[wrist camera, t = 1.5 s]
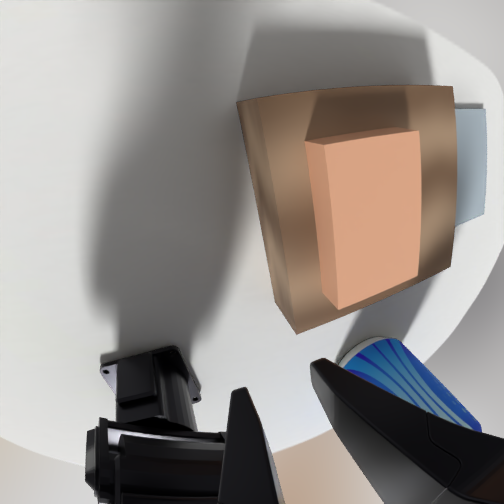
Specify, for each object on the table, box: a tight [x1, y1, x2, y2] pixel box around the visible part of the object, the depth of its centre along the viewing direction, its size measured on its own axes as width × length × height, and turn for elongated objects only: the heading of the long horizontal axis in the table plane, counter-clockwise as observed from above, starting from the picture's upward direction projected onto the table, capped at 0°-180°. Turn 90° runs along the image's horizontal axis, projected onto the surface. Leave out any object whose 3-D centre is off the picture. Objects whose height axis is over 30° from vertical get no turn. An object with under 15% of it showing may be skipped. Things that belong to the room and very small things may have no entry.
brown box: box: [236, 85, 457, 335], centre depth 20 cm, size 14×14×4 cm
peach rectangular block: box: [305, 127, 421, 310], centre depth 17 cm, size 9×6×2 cm, turn 10°
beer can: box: [339, 337, 482, 432], centre depth 23 cm, size 8×8×16 cm
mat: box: [455, 109, 487, 226], centre depth 24 cm, size 11×10×1 cm
